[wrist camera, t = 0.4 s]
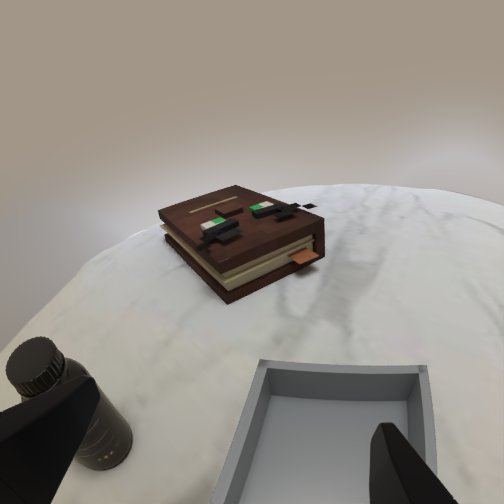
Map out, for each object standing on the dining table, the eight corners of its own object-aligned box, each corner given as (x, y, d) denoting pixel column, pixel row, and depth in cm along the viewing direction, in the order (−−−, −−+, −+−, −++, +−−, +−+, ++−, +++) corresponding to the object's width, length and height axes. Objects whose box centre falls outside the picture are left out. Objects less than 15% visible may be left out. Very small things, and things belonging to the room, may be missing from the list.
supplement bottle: (64, 434, 22) (-8, 351, 16) (114, 403, 26) (55, 313, 20) (91, 484, 17) (0, 409, 12) (147, 448, 21) (78, 361, 16)
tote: (402, 584, 8) (428, 585, 5) (206, 569, 12) (183, 567, 9) (411, 399, 22) (426, 364, 20) (265, 393, 26) (259, 359, 24)
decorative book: (234, 177, 64) (342, 214, 41) (239, 210, 68) (341, 261, 45) (147, 205, 56) (217, 268, 33) (157, 240, 59) (228, 321, 36)
